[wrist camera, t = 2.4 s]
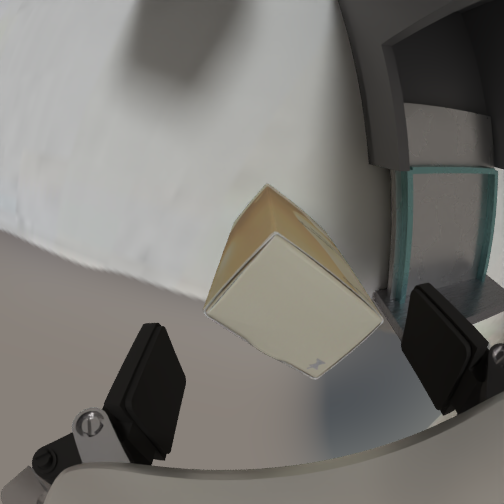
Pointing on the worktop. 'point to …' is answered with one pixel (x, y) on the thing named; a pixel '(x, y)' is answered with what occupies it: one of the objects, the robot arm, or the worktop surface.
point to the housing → (425, 66)
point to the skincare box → (289, 288)
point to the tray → (443, 215)
